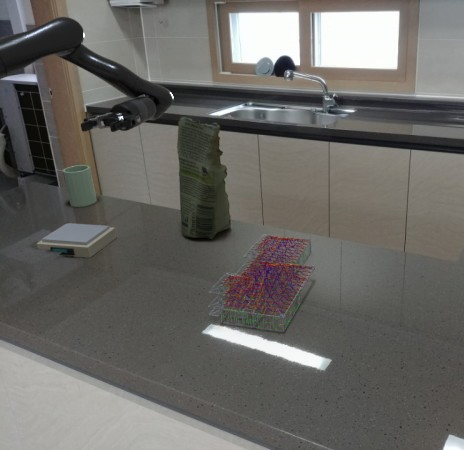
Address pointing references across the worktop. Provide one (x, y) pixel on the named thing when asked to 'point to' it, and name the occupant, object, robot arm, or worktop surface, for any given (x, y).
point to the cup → (79, 185)
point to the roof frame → (257, 288)
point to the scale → (78, 239)
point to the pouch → (201, 180)
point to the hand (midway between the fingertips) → (96, 127)
